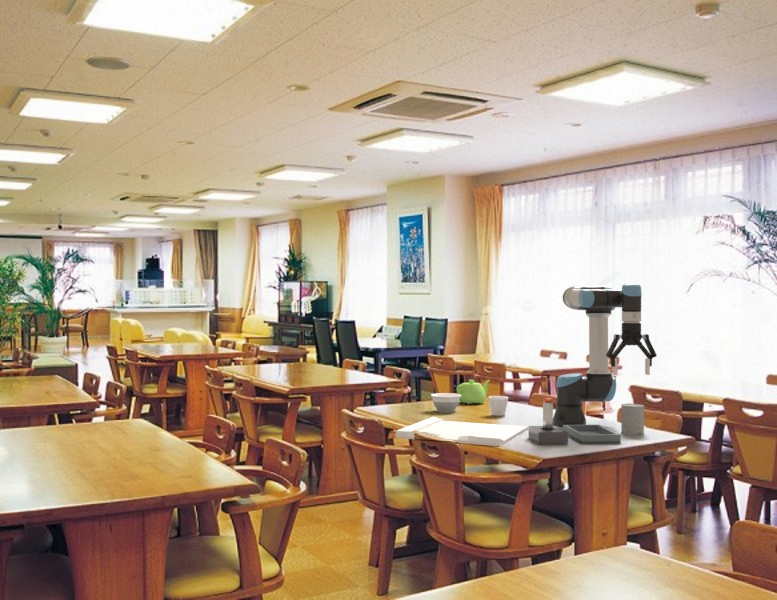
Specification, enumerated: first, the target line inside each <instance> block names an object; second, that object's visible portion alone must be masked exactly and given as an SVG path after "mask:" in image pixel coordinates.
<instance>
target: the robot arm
mask: <svg viewBox="0 0 777 600" xmlns="http://www.w3.org/2000/svg"><path fill="white" fill-rule="evenodd" d="M562 302H563V304H564V305H565V306H566V307H567V308H568V309H569V308H570V309H572V310H575V311H585V315H586V316H587V318H588V339H589V340H588V344H589V345H588V346H589V348H588V350H589V351H588V353H589V355H588V357H589V359H588V360H589V362H588V363H589V366H588V367H589V368H588V369H587V371H586V373H585V376H584V375H583V374H582V373H581V372H580V373H578V372H577V373H576V372H575V373H567V374H561V375H559V376H558V377H557V379H556V386H555V387H556V409H555V411H554V413H553V426H558V427H560V426H561V427H563V425H587V418H586V415H585V412H584V410H583V409H584V408H583V402H585V403H586V402H589V403H591V402H593V403H594V402H595V403H596V402H599V403H600V402H601V403H605V402H611V401H612V400H613V399H614V398H615V396H616V392H617V380H616V378H615V376H617V375H618V359H617V357H618V356H619V355H620V353H621V352H622V350H623V349H624V348H625V347H627V346H637V348H639V349H640V351H641V352H642V353H643V354H644V356H645V358H644V365H645V366H644V375H647V376H650V375H651V371H650V370H651V369H650V368H651V367H652V365H653V363H652V362H653V359H654V358H657V356H658V355H657V353H656V351H655V349H654V347H653V345H652V342H651V340H650V335H649V334H648V333H644V334H642V323H640V322H642V286H641V285H640V284H631V283H627V284H622V286H621V288H619V289H618V288H617V289H616V288H614V289H613V288H612V287H611V286H610V285H604V284H599V285H598V284H594V285H593V284H591V285H590V284H588V285H587V284H586V285H580V284H578V285H574V286H573V285H572V286H570V287H568V288H566V289H565V290H564V292H563V294H562ZM616 308H621V322H622V323H621V334H617V333H615V334H613V340H612V341H611V343H610V346H609V317H610V316H611V315H612V311H614V310H615V309H616ZM619 340H621V342H620V344H619V345H618V342H619ZM642 340H643V341H644V343H645V345H646V347H647V348H646V347H645V346H644V344H643V342H642ZM617 345H618V346H617ZM609 358H610V367H611V368H612V371H610V369H609Z"/></svg>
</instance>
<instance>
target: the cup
mask: <svg viewBox="0 0 777 600" xmlns="http://www.w3.org/2000/svg"><path fill="white" fill-rule="evenodd" d="M488 401H489V407H490V411H491V415H492V416H493V417H504V416H506V410H507V408H508V407H507V406H508V401H509V396H507V395H506V396H504V395H489V396H488Z"/></svg>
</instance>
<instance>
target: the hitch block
mask: <svg viewBox="0 0 777 600" xmlns="http://www.w3.org/2000/svg"><path fill="white" fill-rule="evenodd" d="M528 439H530V440H531V441H532V442H533V443H535V444H537V445H538V446H550V445H551V446H554V445H555V446H557V445H558V446H560V445H569V436H568V432H567V431H565V430H564V429H563V427H560V426H559V425H553V430H543V425H528Z"/></svg>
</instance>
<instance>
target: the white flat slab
mask: <svg viewBox="0 0 777 600" xmlns="http://www.w3.org/2000/svg"><path fill="white" fill-rule="evenodd" d="M415 430H416V431H420V433H425V434H428V435H432V436H436V437H441V438H445V439H449V440H453V441H456V442H458V443H457V444H467V445H468V444H469V445H480V446H493V447H501V446H503V445H504V444H506V443H508V442H509V441H512V440H513V439H515V438H516V437H518V436H519V435H522V434H523V433H524V432H526V431H529V426H526V425H525V426H524V425H510V424H495V423H483V422H482V423H481V422H480V423H479V422H467V421H453V420H444V418H440V417H436V416H431V417H428V418H426V419H423V420H421V421H418V422H416V423H413V424H410V425H408V426H404V427H401V428H400V429H397V430H396V431H395V435H396V436H395V438H396V439H405V440H406V439H407V440H415V439H414V437H415V436H414V434H415V433H416V432H413V431H415Z"/></svg>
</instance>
